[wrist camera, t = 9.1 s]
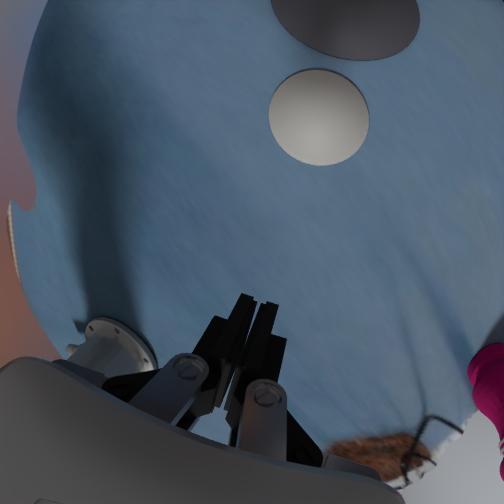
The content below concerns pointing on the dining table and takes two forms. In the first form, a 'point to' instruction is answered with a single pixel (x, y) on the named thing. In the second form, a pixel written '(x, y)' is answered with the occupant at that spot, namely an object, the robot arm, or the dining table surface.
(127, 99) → the dining table surface
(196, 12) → the dining table surface
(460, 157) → the dining table surface
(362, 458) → the dining table surface
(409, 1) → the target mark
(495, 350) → the pepper mill
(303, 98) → the plain round gray disc
